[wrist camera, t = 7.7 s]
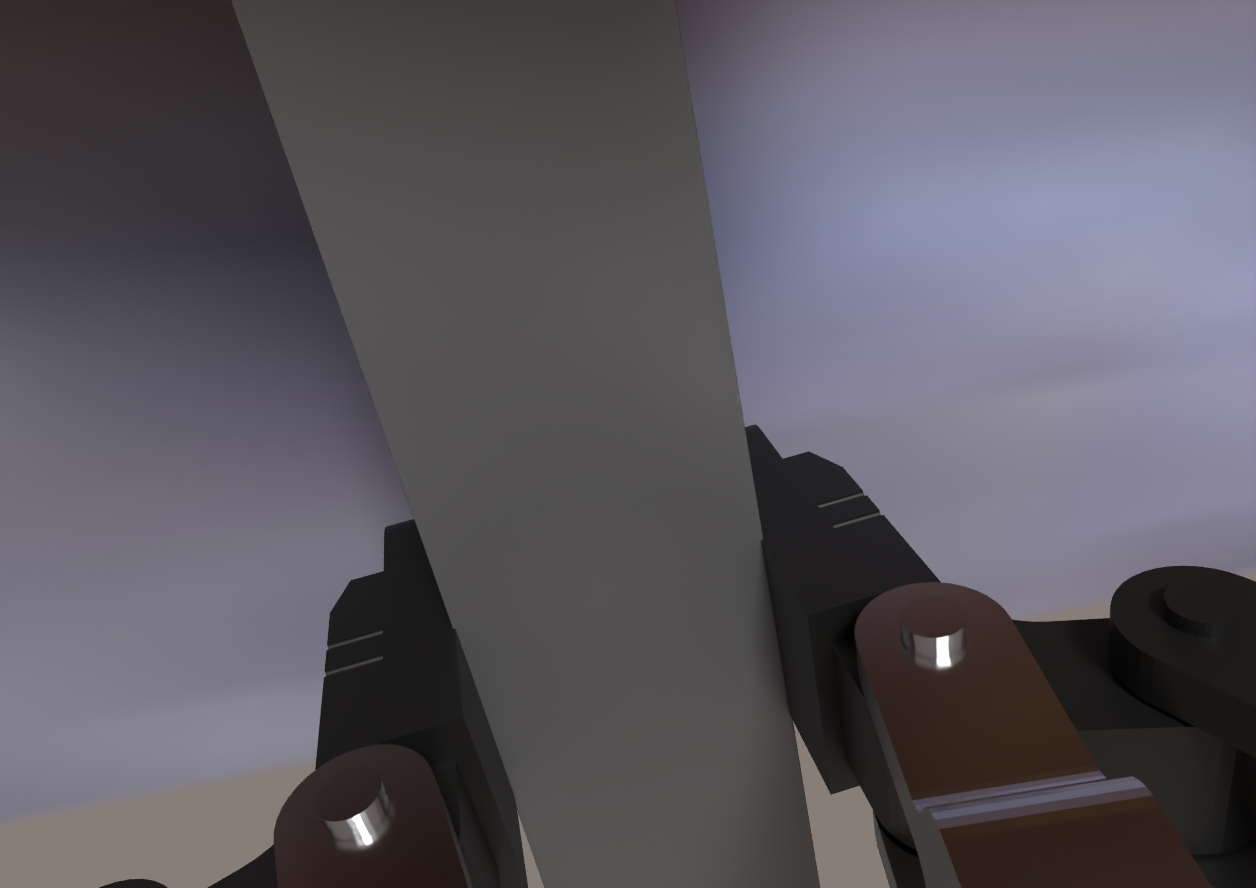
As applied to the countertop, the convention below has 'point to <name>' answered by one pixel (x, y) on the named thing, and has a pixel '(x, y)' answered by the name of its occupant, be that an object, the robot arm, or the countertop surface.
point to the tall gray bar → (558, 408)
